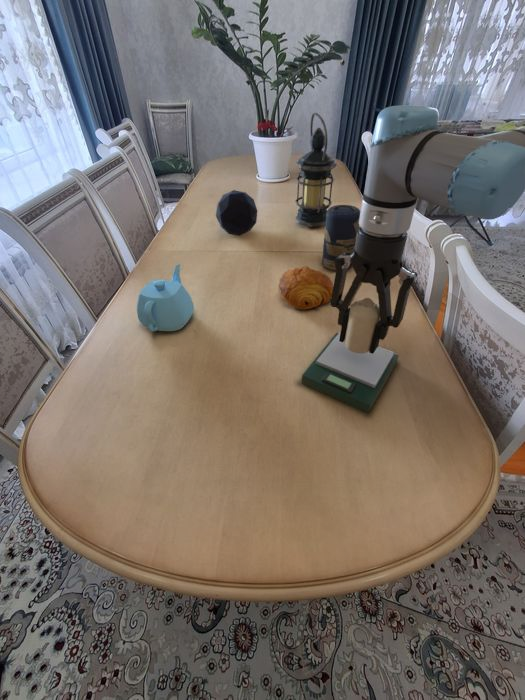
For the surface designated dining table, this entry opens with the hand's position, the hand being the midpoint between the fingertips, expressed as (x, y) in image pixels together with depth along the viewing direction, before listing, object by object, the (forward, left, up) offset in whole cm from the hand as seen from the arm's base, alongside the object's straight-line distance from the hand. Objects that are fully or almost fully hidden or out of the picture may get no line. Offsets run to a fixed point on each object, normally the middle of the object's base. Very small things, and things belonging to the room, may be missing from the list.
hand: (358, 343), depth 69 cm
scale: (0, +2, -7) cm, 7 cm away
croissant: (+22, -19, -7) cm, 30 cm away
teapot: (+46, +8, -7) cm, 47 cm away
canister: (+22, -39, -7) cm, 45 cm away
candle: (0, 0, -1) cm, 1 cm away
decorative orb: (+63, -43, -7) cm, 77 cm away
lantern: (+44, -64, -7) cm, 78 cm away
